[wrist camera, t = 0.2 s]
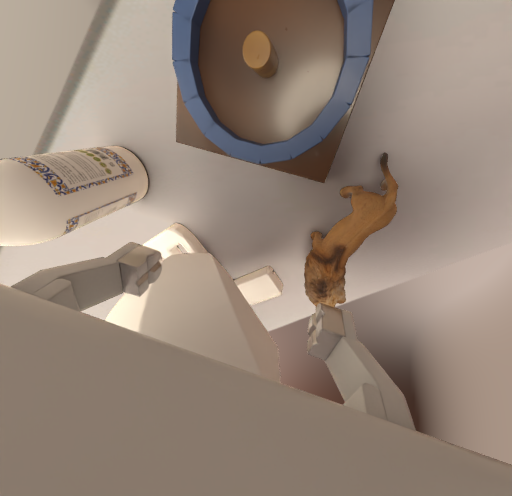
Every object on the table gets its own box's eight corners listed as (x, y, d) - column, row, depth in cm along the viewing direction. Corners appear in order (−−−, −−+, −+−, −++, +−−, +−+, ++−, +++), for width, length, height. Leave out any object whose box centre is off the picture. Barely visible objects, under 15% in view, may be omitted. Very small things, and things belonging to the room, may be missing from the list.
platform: (194, -92, 16) (140, -188, 11) (410, -51, 15) (460, -137, 10) (185, 140, 25) (152, 145, 20) (323, 178, 24) (326, 194, 19)
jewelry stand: (194, 317, 40) (61, 537, 19) (133, 250, 35) (-139, 447, 14) (325, 270, 29) (360, 661, 8) (263, 164, 24) (-62, 454, 3)
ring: (185, -106, 15) (173, -129, 13) (412, -63, 14) (423, -84, 12) (179, 138, 23) (171, 139, 22) (322, 178, 22) (322, 182, 20)
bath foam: (95, 141, 27) (-262, 173, 10) (146, 149, 26) (-153, 201, 9) (108, 195, 31) (-141, 286, 14) (153, 204, 30) (-54, 313, 13)
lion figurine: (334, 272, 29) (342, 326, 21) (296, 258, 29) (291, 306, 22) (408, 161, 21) (462, 184, 14) (356, 141, 21) (381, 153, 14)
